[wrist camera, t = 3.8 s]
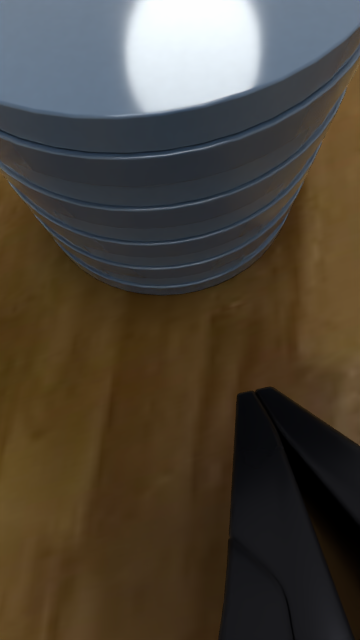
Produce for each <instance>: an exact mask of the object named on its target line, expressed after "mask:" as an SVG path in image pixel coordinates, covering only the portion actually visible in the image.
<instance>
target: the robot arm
mask: <svg viewBox="0 0 360 640" xmlns="http://www.w3.org/2000/svg"><path fill="white" fill-rule="evenodd" d="M229 537H230V538H229V540H228V556H227V570H226V581H225V593H224V603H223V610H222V617H221V624H220V631H219V638H218V640H360V446H359V445H358V444H356V443H355V442H353V441H352V440H350V439H349V438H347V437H346V436H344V435H343V434H341V433H340V432H339V431H337V430H336V429H334V428H333V427H331V426H330V425H328V424H327V423H325V422H324V421H322V420H321V419H319V418H318V417H316V416H315V415H313V414H312V413H310V412H309V411H308V410H306V409H305V408H303V407H302V406H300V405H299V404H297V403H296V402H294V401H293V400H291V399H290V398H288V397H287V396H285V395H284V394H282V393H281V392H279V391H278V390H277V389H275V388H273V387H265V388H261V389H257V390H256V391H255V392H254V391H247V392H242V393H239V394H238V395H237V402H236V419H235V437H234V454H233V472H232V490H231V507H230V525H229Z"/></svg>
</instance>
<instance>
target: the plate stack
mask: <svg viewBox="0 0 360 640" xmlns="http://www.w3.org/2000/svg"><path fill="white" fill-rule="evenodd" d="M359 64H360V0H0V173H1V174H2V175H3V176H4V177H5V178H6V179H7V181H8V182H9V184H10V185H11V187H12V188H13V189H14V190H15V192H16V193H17V194H18V195H19V197H20V198H21V199H22V200H23V201H24V203H25V204H26V205H27V206H28V207H29V209H30V210H31V211H32V212H33V214H34V215H35V217H36V218H37V219H38V220H39V222H40V223H41V224H42V225H43V226H44V228H45V229H46V230H47V231H48V232H49V234H50V235H51V236H52V237H53V239H54V240H55V241H56V243H57V244H58V245H59V246H60V248H61V249H62V250H63V251H64V252H65V254H66V255H67V256H68V257H69V258H70V259H71V260H72V261H73V262H74V263H75V264H76V265H77V266H78V267H80V268H81V269H82V270H83V271H85V272H87V273H88V274H90V275H91V276H93V277H94V278H96V279H98V280H100V281H102V282H104V283H106V284H108V285H110V286H114V287H117V288H120V289H123V290H126V291H131V292H136V293H141V294H152V295H172V294H183V293H189V292H194V291H199V290H202V289H205V288H208V287H212V286H215V285H217V284H219V283H222V282H224V281H226V280H228V279H230V278H232V277H234V276H235V275H237V274H239V273H240V272H242V271H243V270H245V269H247V268H248V267H249V266H250V265H251V264H253V263H254V262H255V261H256V260H257V259H259V258H260V257H261V256H262V255H263V254H264V252H265V251H266V250H267V249H268V248H269V247H270V246H271V245H272V243H273V242H274V240H275V239H276V237H277V236H278V234H279V233H280V231H281V229H282V227H283V225H284V223H285V220H286V218H287V216H288V214H289V212H290V210H291V208H292V206H293V203H294V201H295V199H296V197H297V195H298V193H299V191H300V189H301V187H302V184H303V182H304V180H305V178H306V176H307V174H308V172H309V170H310V167H311V165H312V163H313V161H314V159H315V157H316V155H317V153H318V151H319V148H320V146H321V144H322V141H323V139H324V137H325V136H326V133H327V131H328V129H329V127H330V125H331V123H332V121H333V119H334V117H335V115H336V112H337V110H338V108H339V106H340V104H341V102H342V100H343V98H344V96H345V92H346V89H347V86H348V84H349V83H350V81H351V80H352V78H353V76H354V74H355V72H356V70H357V68H358V66H359Z"/></svg>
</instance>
